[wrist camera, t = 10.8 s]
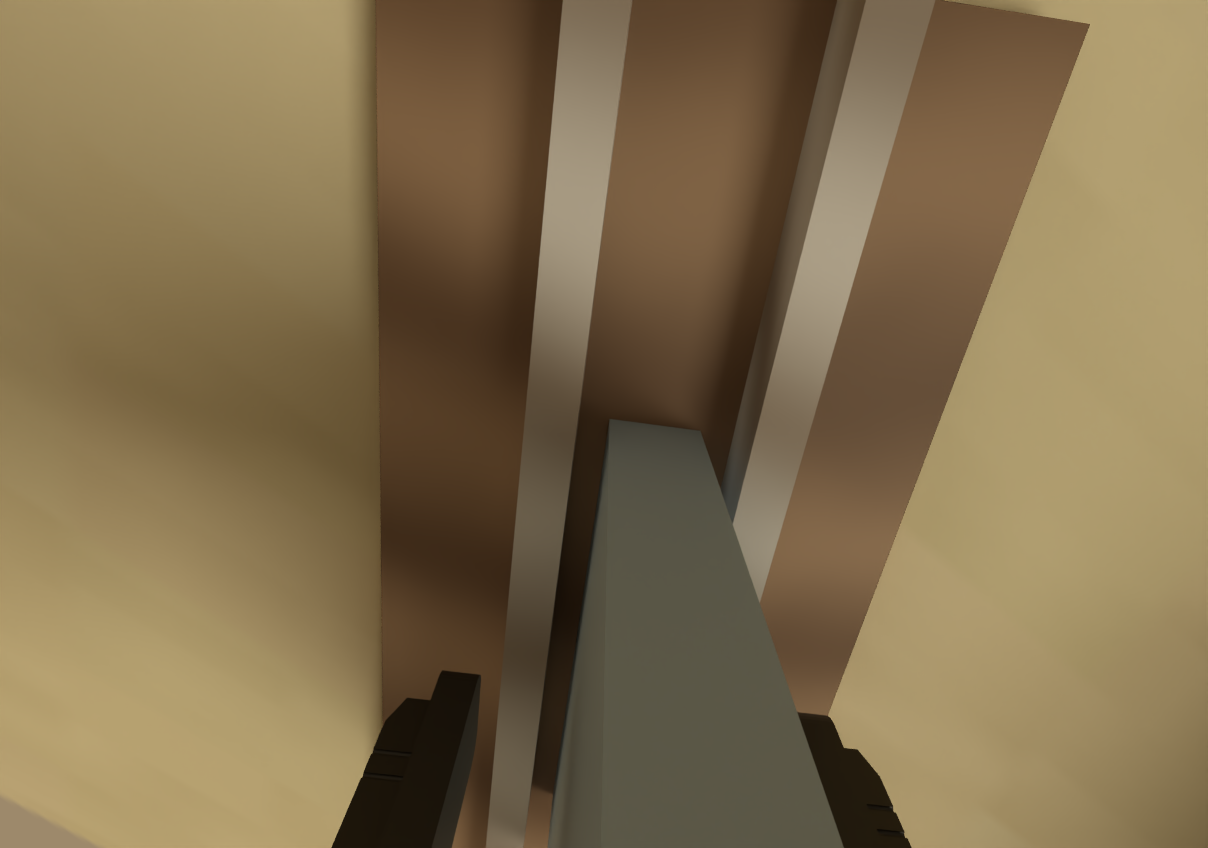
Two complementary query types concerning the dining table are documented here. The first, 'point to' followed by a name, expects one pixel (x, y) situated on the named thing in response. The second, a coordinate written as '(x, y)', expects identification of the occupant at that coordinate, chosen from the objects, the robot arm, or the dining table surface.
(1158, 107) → the dining table surface
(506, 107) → the floor track
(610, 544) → the door panel
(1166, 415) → the dining table surface
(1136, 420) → the dining table surface
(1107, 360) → the dining table surface
